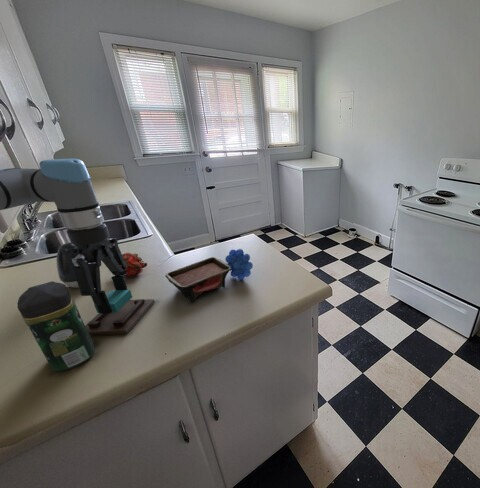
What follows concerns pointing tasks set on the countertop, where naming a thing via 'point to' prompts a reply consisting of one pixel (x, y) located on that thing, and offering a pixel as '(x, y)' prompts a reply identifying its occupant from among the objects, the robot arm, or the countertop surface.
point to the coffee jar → (56, 325)
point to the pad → (117, 299)
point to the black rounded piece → (67, 264)
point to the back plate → (119, 318)
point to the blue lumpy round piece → (239, 263)
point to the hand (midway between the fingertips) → (115, 303)
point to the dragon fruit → (133, 264)
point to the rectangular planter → (199, 277)
